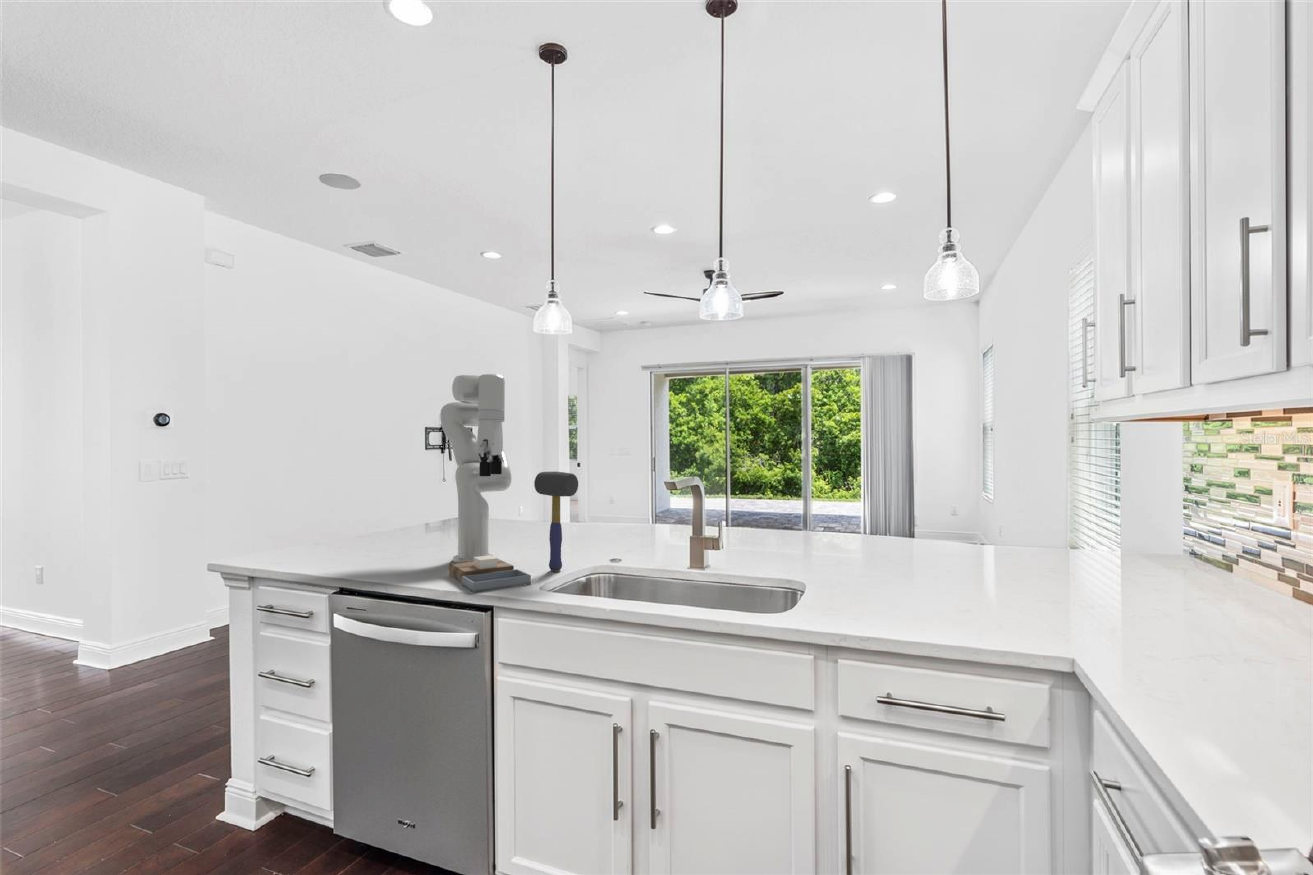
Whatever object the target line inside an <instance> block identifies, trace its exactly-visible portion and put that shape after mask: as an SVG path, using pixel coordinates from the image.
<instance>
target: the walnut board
mask: <svg viewBox="0 0 1313 875" xmlns="http://www.w3.org/2000/svg"><path fill="white" fill-rule="evenodd" d="M448 566H449V568H448V569H449V570H448V572H449V573H448V574H449V576H450V577H452V578H453V577H454V578H453V579H455V580H457V581H458V582H460V583H461V584H462V576H468V575H476V574H484V573H492V572H499V571H507V570H515V569H514V565H513V564H511V563H508V562H506V561H504V560H501V559H499V558H497V567H493V568H485V569H479V568H477V567H475V566H474V560H473V561H464V562H450V563H449V565H448Z"/></svg>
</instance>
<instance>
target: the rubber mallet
mask: <svg viewBox="0 0 1313 875" xmlns="http://www.w3.org/2000/svg"><path fill="white" fill-rule="evenodd" d="M533 485H534V489H535V491H536V493H538V494H539V495H544V496H550V497H551V522H550V526H549V527H550V528H549V539H548V540H549V546H550V550H549V551H550V553H549V556H550V557H549V562H548V567H549V570H550V571H551V572H554V573H556V572H560V571H561V569H562V567H563V562H562V541H563V531H562V523H561V497H572V496H574V495H575V494H576V493H577V491H578V489H579V480H578V477H577V475H575V474H574V473H569V472H564V471H563V472H562V471H541V472H539V473H538V474H537V475H536V477H535V479H534V484H533Z"/></svg>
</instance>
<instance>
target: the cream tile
mask: <svg viewBox="0 0 1313 875" xmlns="http://www.w3.org/2000/svg"><path fill="white" fill-rule="evenodd" d="M497 559H498V558H497V557H495V556H494V555H493V556H491V555H489V556H480V557H474V566H475V567H477V568H479V569H485V568H493V567H497Z"/></svg>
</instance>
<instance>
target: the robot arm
mask: <svg viewBox="0 0 1313 875" xmlns="http://www.w3.org/2000/svg"><path fill="white" fill-rule="evenodd" d="M505 384H506V382H505V377H504V376H503V375H500V374H496V373H495V374H492V373H487V374H481V375H474V374H473V375H471V374H464V375H463V374H460V375H456V376H455V377H454V379H453V382H452V385H451V386H452V387H451V391H452V395H453V398H454V399H455V402H448V403H446V404H445V405H443V406H442V408H441V409H440V413H439V414H440V415H439V418H440V425H441V427H442V431H443V433H444V435H445V437H446V439H447V440H448V441H449V443H450V444H451V447H452V452H453V455H454V460H455V462H456V463H455V464H456V465H457V466H458V467H457V468H456V470H455V475H454V476H455V484H456V490H457V491H456V492H457V514H458V515H457V517H458V518H457V522H458V523H457V555H454V556H453V557H452V562H453V563H455V562H464V561H473V560H474V557H480V556H489V555H491V556H493V557H494V555H493V554H491V553H489V530H490V529H489V528H490V526H489V517H490V513H489V510H490V509H489V503H488V501H487V500H486V499H485V497H484V496H483V495H482V493H486V492H489V493H490V492H503V491H506V490H508V489H509V488H510V486H511V485H512V473H511V469H510V466H509V462H508V459H507V457H506V454H505V451H504V449H503V448H504V445H503V444H504V442H503V438H504V437H503V434H504V432H503V423H504V422H505V409H506V408H505V406H506V405H505V402H506V401H505V396H506V395H505ZM467 427H477V436H476V435H475V434H474V433H473V432H472V430H470V429H469V428H467Z"/></svg>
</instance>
